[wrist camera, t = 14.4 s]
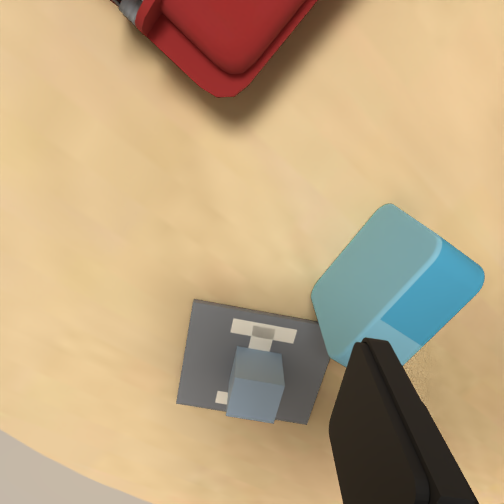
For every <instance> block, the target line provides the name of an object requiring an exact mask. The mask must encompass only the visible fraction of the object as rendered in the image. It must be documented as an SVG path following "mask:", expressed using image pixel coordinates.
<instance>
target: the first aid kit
mask: <svg viewBox="0 0 504 504" xmlns="http://www.w3.org/2000/svg"><path fill="white" fill-rule="evenodd" d="M110 1H112V2H113V3H114V4H116V5H117V6H118V7H119V10H120V11H121V12H122V13H123V15H124V16H125V17H127V18H128V20H129V21H131V22H132V23H133V25H135V26H136V27H137V29H138V30H139V31H140V32H141V33H142V34H144V35H145V36H146V37H147V38H148V39H150V40H151V41H152V42H153V43H154V44H155V45H156V46H157V47H158V48H159V49H160V50H161V51H162V52H163V53H164V54H165V55H167V56H168V57H169V58H170V59H171V60H172V61H173V62H174V63H175V64H176V65H177V66H178V67H179V68H180V69H181V70H182V71H183V72H185V73H186V74H187V75H188V76H189V77H190V78H191V79H192V80H193V81H194V82H195V83H196V84H197V85H198V86H199V87H201V88H202V89H204V90H206V91H207V92H209V93H211V94H212V95H214V96H215V97H218V98H220V97H235V96H236V95H237V94H238V93H240V92H241V91H242V90H243V89H245V88H246V87H247V86H249V84H250V83H251V82H252V81H253V79H254V78H255V77H256V76H257V75H258V73H259V72H260V71H261V70H262V68H263V67H264V66H265V65H266V64H267V62H268V61H269V60H270V59H271V57H272V56H273V55H274V54H275V52H276V51H277V50H278V49H279V48H280V46H281V45H282V44H283V43H284V41H285V40H286V39H287V38H288V37H289V35H290V34H291V33H292V32H293V30H294V29H295V28H296V27H297V25H298V24H299V23H300V22H301V21H302V19H303V18H304V17H305V16H306V14H307V13H308V12H309V11H310V10H311V8H312V7H313V6H314V5H315V3H316V2H317V1H318V0H110Z"/></svg>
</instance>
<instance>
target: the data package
mask: <svg viewBox="0 0 504 504" xmlns="http://www.w3.org/2000/svg"><path fill="white" fill-rule="evenodd" d="M484 278H485V276H484V271H483V269H482V268H481V267H480V266H479V265H478V264H477V263H475V262H474V261H473V260H471V259H470V258H469V257H467V256H466V255H465V254H463V253H462V252H460V251H459V250H458V249H456V248H455V247H454V246H452V245H451V244H450V243H448V242H447V241H446V240H444V239H443V238H442V237H440V236H439V235H437V234H436V233H434V232H433V231H432V230H430V229H429V228H427V227H426V226H424V225H423V224H421V223H420V222H418V221H417V220H415V219H414V218H412V217H411V216H409V215H408V214H406V213H405V212H404V211H402V210H401V209H399V208H398V207H396V206H395V205H393V204H385V205H383V206H382V207H380V208H379V209H378V210H377V211H376V212H375V213H374V214H373V215H372V216H371V218H370V219H369V220H368V221H367V222H366V224H365V225H364V226H363V227H362V228H361V230H360V231H359V232H358V233H357V234H356V236H355V237H354V238H353V239H352V240H351V242H350V243H349V244H348V245H347V246H346V248H345V249H344V250H343V251H342V252H341V254H340V255H339V256H338V257H337V258H336V260H335V261H334V262H333V263H332V264H331V266H330V267H329V268H328V269H327V271H326V272H325V273H324V274H323V275H322V277H321V278H320V279H319V280H318V281H317V283H316V284H315V286H314V288H313V290H312V294H311V299H312V303H313V306H314V309H315V313H316V316H317V319H318V323H319V326H320V329H321V333H322V336H323V339H324V343H325V346H326V349H327V353H328V355H329V357H330V358H331V359H333V360H335V361H336V362H338V363H340V364H341V365H343V366H345V367H346V368H347V365H348V361H349V358H350V355H351V352H352V349H353V346H354V344H355V343H356V342H361V341H362V339H363V338H365V337H367V338H374V339H380V340H386V341H388V342H389V343H390V344H391V346H392V348H393V350H394V352H395V354H396V355H397V357H398V359H399V361H400V363H401V365H402V366H403V365H404V364H405V363H406V362H407V361H408V360H409V359H410V358H411V357H412V356H413V355H414V354H415V353H417V352H418V351H419V350H420V349H421V348H422V347H423V346H424V345H425V344H426V343H427V342H428V341H429V340H430V339H431V338H432V337H433V336H434V335H435V334H436V333H437V332H438V331H439V330H440V329H441V328H442V327H443V326H444V325H445V324H446V323H447V322H448V321H449V320H450V319H452V318H453V317H454V316H455V315H456V314H457V313H458V312H459V311H460V310H461V309H462V308H463V307H464V306H465V305H466V304H467V303H468V302H469V301H470V300H471V299H472V298H473V297H474V296H475V295H476V294H477V293H478V292H479V291H480V289H481V288H482V285H483V283H484Z"/></svg>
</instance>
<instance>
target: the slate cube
mask: <svg viewBox="0 0 504 504" xmlns="http://www.w3.org/2000/svg"><path fill="white" fill-rule="evenodd" d="M284 387H285V382H284V373H283V364H282V355H281V354H279V353H274V352H268V351H262V350H257V349H251V348H245V347H240V346H237V349H236V354H235V358H234V362H233V367H232V371H231V375H230V380H229V388H228V398H227V409H226V416H230V417H236V418H242V419H248V420H255V421H261V422H267V423H273V424H274V420H275V417H276V414H277V411H278V407H279V404H280V401H281V397H282V394H283V391H284Z"/></svg>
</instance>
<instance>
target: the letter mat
mask: <svg viewBox="0 0 504 504" xmlns="http://www.w3.org/2000/svg"><path fill="white" fill-rule="evenodd" d="M237 346H240V347H245V348H251V349H257V350H262V351H268V352H274V353H279V354H281V355H282V364H283V373H284V382H285V387H284V391H283V394H282V397H281V401H280V404H279V407H278V411H277V414H276V417H275V420H281V421H287V422H293V423H299V424H305V425H307V423H308V420H309V417H310V414H311V411H312V409H313V406H314V403H315V400H316V397H317V394H318V391H319V388H320V386H321V383H322V380H323V377H324V374H325V371H326V368H327V365H328V363H329V360H330V357H329V355H328V353H327V349H326V346H325V343H324V339H323V336H322V333H321V329H320V326H319V323H318V322H317V321H311V320H306V319H300V318H295V317H289V316H284V315H278V314H273V313H268V312H262V311H257V310H251V309H246V308H240V307H235V306H229V305H224V304H218V303H213V302H207V301H202V300H197V299H194V301H193V306H192V312H191V318H190V324H189V329H188V335H187V341H186V347H185V353H184V359H183V365H182V371H181V377H180V383H179V389H178V395H177V401H176V404H182V405H189V406H195V407H201V408H207V409H213V410H219V411H226V409H227V398H228V388H229V380H230V375H231V371H232V367H233V362H234V358H235V354H236V349H237Z"/></svg>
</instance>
